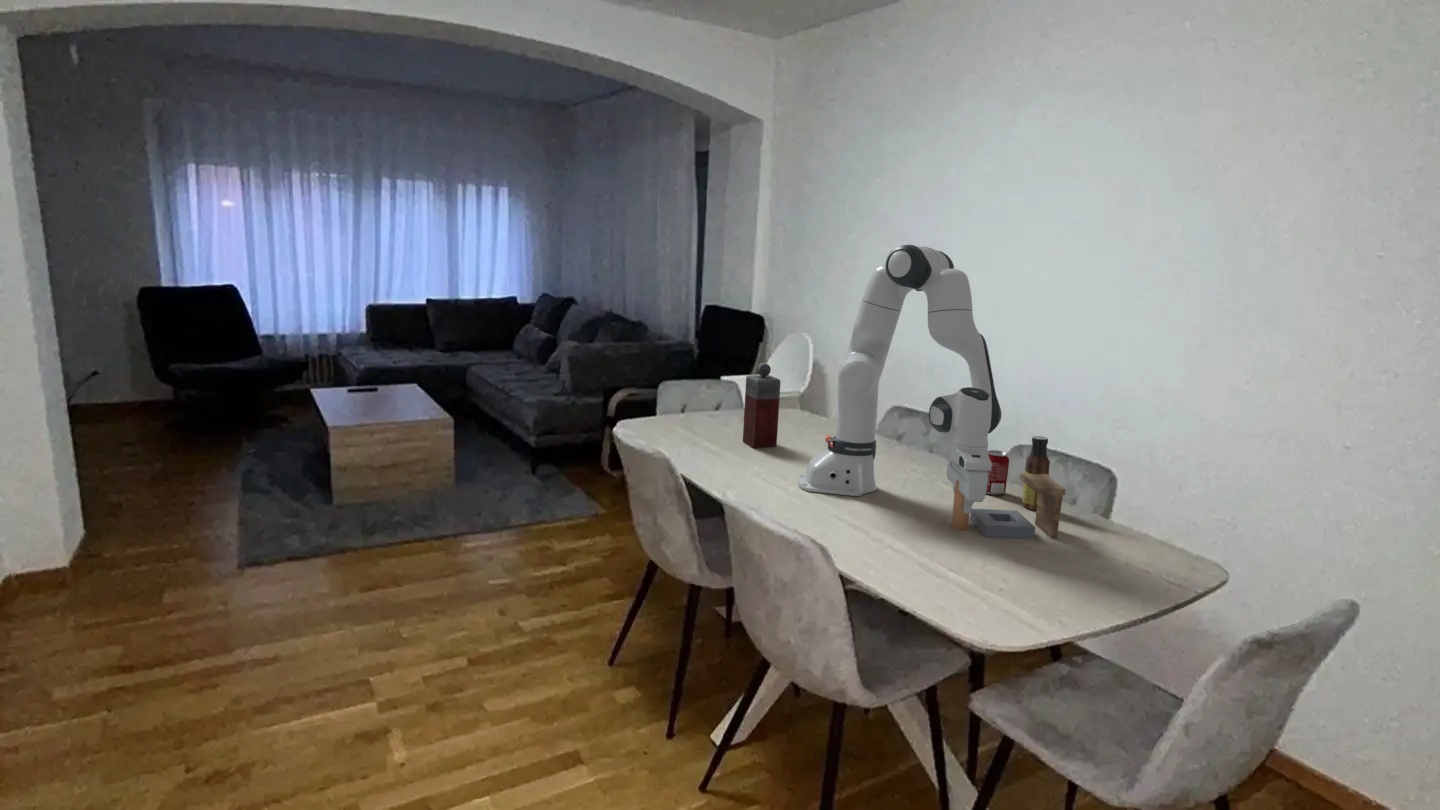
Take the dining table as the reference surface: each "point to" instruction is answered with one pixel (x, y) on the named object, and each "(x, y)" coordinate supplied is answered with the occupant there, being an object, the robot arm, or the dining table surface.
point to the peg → (959, 511)
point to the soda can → (997, 472)
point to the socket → (1002, 523)
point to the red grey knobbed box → (761, 409)
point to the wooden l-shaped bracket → (1046, 501)
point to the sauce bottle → (1035, 469)
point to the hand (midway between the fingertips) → (961, 507)
